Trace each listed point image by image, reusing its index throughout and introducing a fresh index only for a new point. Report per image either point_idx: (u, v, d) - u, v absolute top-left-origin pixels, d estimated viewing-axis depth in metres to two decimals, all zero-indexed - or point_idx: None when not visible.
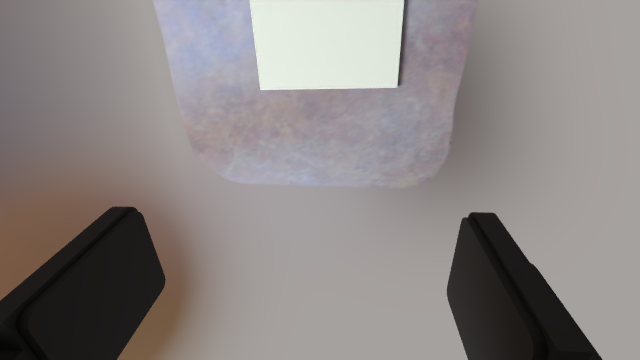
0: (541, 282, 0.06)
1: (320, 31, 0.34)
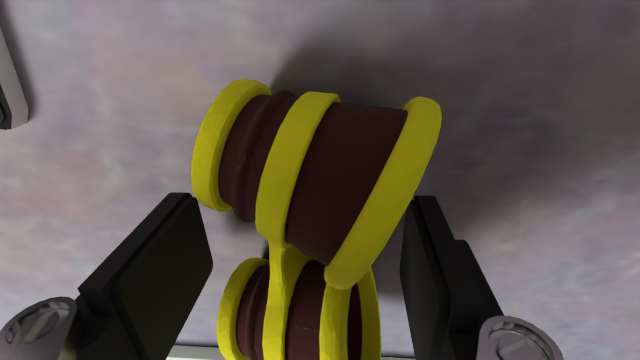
0: (458, 251, 0.07)
1: None
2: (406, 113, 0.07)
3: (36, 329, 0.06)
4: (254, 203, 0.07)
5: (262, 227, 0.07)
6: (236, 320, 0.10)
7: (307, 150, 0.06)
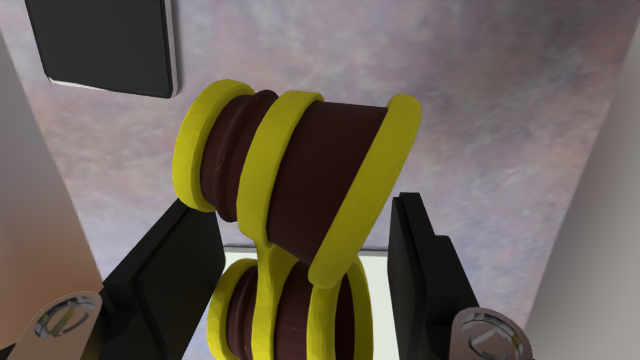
0: (437, 246, 0.07)
1: None
2: (386, 111, 0.07)
3: (63, 322, 0.06)
4: (236, 204, 0.07)
5: (244, 227, 0.07)
6: (226, 321, 0.10)
7: (286, 150, 0.06)
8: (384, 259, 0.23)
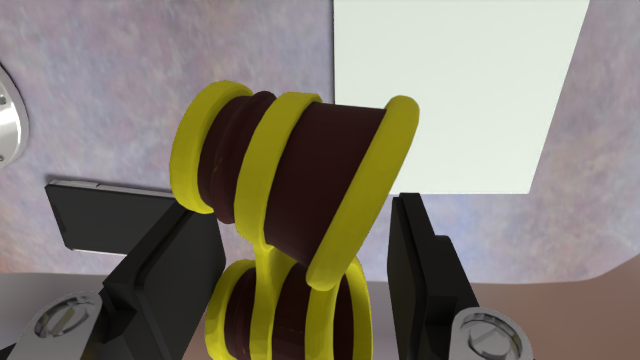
0: (437, 246, 0.07)
1: (469, 108, 0.24)
2: (385, 112, 0.07)
3: (63, 322, 0.06)
4: (233, 205, 0.07)
5: (241, 229, 0.07)
6: (225, 323, 0.10)
7: (284, 151, 0.06)
8: (337, 42, 0.22)
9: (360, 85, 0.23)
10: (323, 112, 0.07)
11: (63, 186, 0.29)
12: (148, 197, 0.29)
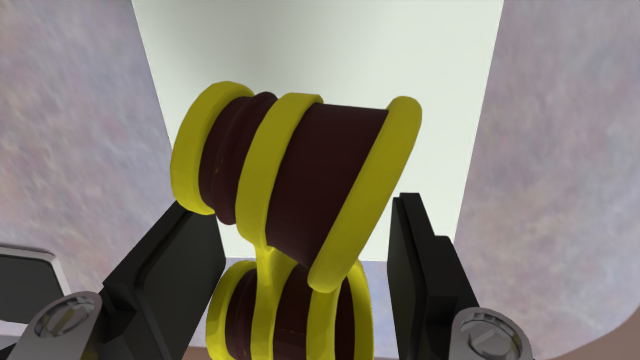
0: (437, 246, 0.07)
1: None
2: (387, 113, 0.07)
3: (63, 322, 0.06)
4: (234, 206, 0.07)
5: (243, 231, 0.07)
6: (225, 324, 0.10)
7: (286, 152, 0.06)
8: (153, 64, 0.15)
9: None
10: (325, 113, 0.07)
11: None
12: None
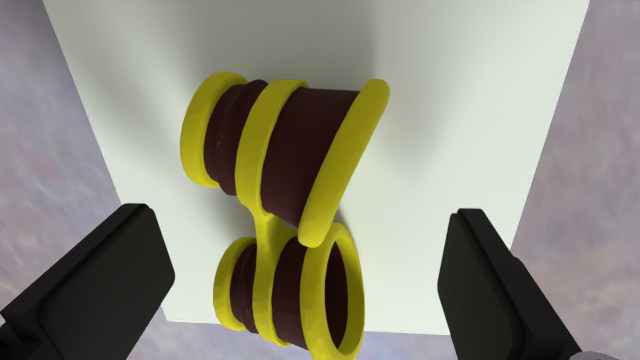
0: (523, 274, 0.06)
1: (359, 207, 0.13)
2: None
3: None
4: (234, 175, 0.08)
5: (241, 195, 0.08)
6: (230, 289, 0.11)
7: (274, 126, 0.07)
8: (82, 87, 0.11)
9: (151, 164, 0.12)
10: (308, 94, 0.08)
11: None
12: None
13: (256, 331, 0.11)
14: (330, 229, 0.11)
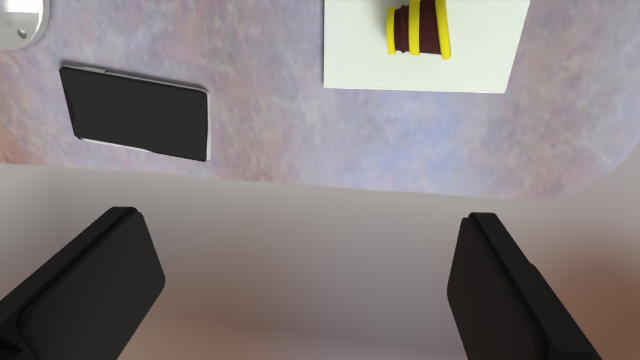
0: (541, 282, 0.06)
1: None
2: None
3: None
4: None
5: None
6: (393, 19, 0.24)
7: None
8: None
9: None
10: None
11: (75, 69, 0.31)
12: (150, 84, 0.31)
13: (403, 42, 0.24)
14: None
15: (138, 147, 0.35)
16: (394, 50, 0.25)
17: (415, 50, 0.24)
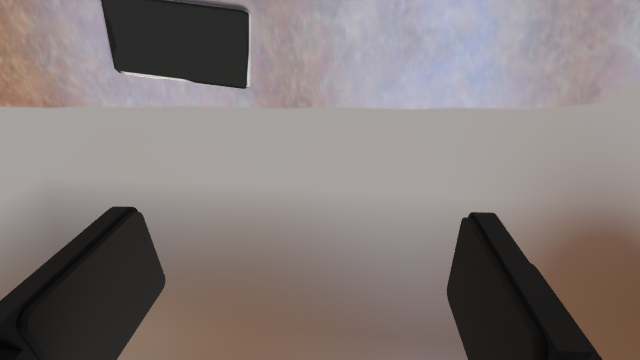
0: (541, 282, 0.06)
1: None
2: None
3: None
4: None
5: None
6: None
7: None
8: None
9: None
10: None
11: None
12: (192, 6, 0.32)
13: None
14: None
15: (178, 77, 0.35)
16: None
17: None
